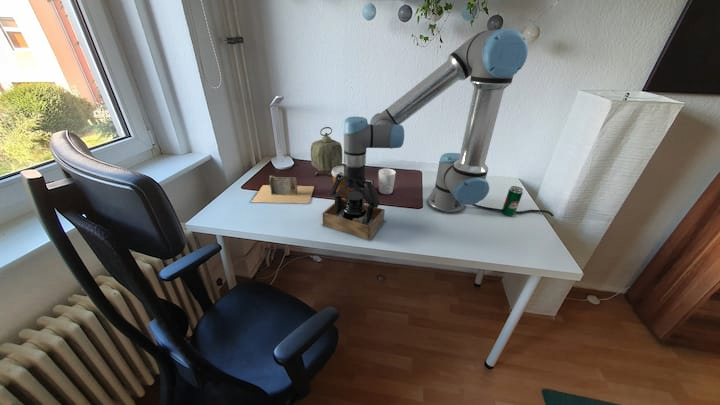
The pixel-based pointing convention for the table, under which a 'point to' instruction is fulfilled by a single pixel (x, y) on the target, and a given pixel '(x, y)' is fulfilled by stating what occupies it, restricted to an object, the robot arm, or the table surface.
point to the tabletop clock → (326, 153)
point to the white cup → (386, 180)
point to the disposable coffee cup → (336, 171)
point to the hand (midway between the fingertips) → (353, 216)
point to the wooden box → (353, 222)
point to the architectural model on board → (284, 191)
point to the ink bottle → (355, 207)
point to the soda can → (512, 200)
